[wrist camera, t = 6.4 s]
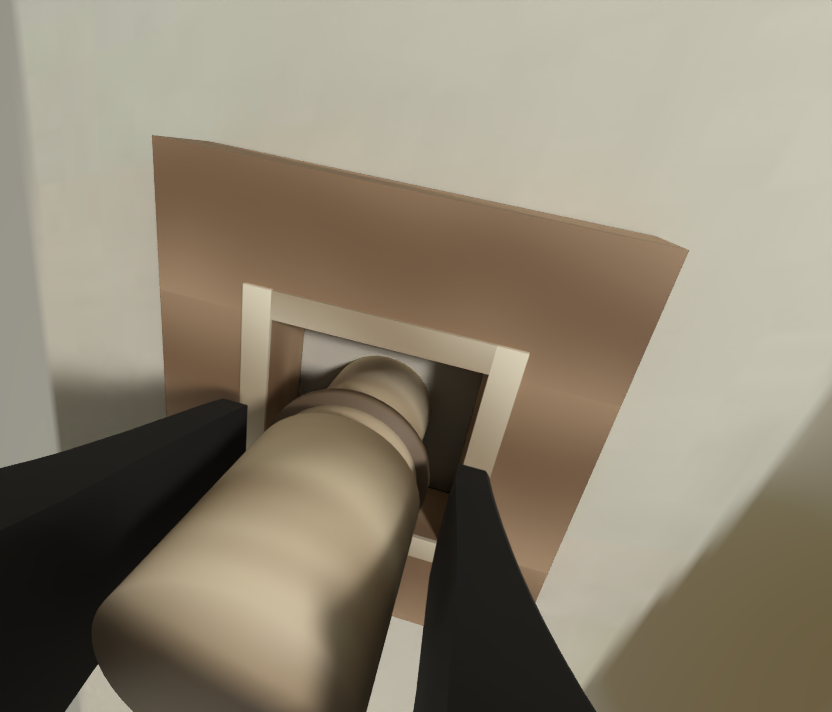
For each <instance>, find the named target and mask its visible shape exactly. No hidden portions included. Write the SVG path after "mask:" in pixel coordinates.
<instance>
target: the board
mask: <svg viewBox="0 0 832 712" xmlns="http://www.w3.org/2000/svg"><path fill="white" fill-rule="evenodd" d="M152 145H153V164H154V183H155V202H156V221H157V240H158V259H159V279H160V298H161V317H162V336H163V355H164V374H165V393H166V413H167V417H169V416H171V415H174V414H177V413H180V412H183V411H185V410H188V409H191V408H194V407H197V406H200V405H203V404H206V403H209V402H212V401H215V400H219V399H222V398H224V399H228V400H231V401H235V402H239V403H242V404H246V405H248V410H247V438H246V451H247V450H248V449H249V448H250V447H251V445H252V444H253V443H254V442H255V441H256V440H257V439H258V438H259V437H260V436H261V435H262V434H263V433H264V432H265V431H266V430H267V429H268V428H269V426H270V425H271V423H272V421H273V420H274V419H275V417H276V416H277V415H278V414H279V413H280V412H281V411H282V410H283V409H284V407H286V406H287V405H288V404H289V403H290V402H291V401H293V400H294V399H296V398H298V394H299V383H300V371H301V360H302V349H303V338H304V328H306V329H310V330H314V331H318V332H322V333H326V334H330V335H334V336H338V337H341V338H345V339H349V340H353V341H357V342H361V343H365V344H369V345H373V346H377V347H381V348H385V349H389V350H393V351H397V352H401V353H405V354H409V355H412V356H416V357H420V358H424V359H428V360H432V361H436V362H440V363H444V364H448V365H452V366H456V367H460V368H464V369H468V370H472V371H476V372H479V373H483V377H482V381H481V384H480V388H479V392H478V395H477V399H476V402H475V406H474V409H473V413H472V417H471V420H470V424H469V427H468V431H467V435H466V438H465V442H464V445H463V449H462V452H461V456H460V460H459V463H460V464H463V465H467V466H470V467H474V468H478V469H481V470H485V471H486V472H487V474H488V475H489V478H490V483H491V487H492V491H493V495H494V498H495V502H496V505H497V508H498V511H499V515H500V518H501V521H502V524H503V527H504V529H505V532H506V535H507V537H508V540H509V543H510V545H511V548H512V551H513V553H514V556H515V558H516V561H517V563H518V566H519V568H520V570H521V573H522V575H523V577H524V579H525V582H526V584H527V586H528V588H529V591H530V593H531V595H532V597H533V599H534V601H535V602H536V599H537V597H538V595H539V592H540V590H541V588H542V586H543V583H544V581H545V579H546V576H547V574H548V572H549V570H550V567H551V565H552V563H553V560H554V558H555V556H556V554H557V551H558V549H559V547H560V544H561V542H562V540H563V538H564V535H565V533H566V531H567V528H568V526H569V524H570V522H571V519H572V517H573V515H574V512H575V510H576V508H577V506H578V503H579V501H580V499H581V496H582V494H583V492H584V490H585V487H586V485H587V483H588V480H589V478H590V476H591V474H592V471H593V469H594V467H595V464H596V462H597V460H598V458H599V455H600V453H601V451H602V448H603V446H604V444H605V442H606V439H607V437H608V435H609V432H610V430H611V428H612V426H613V423H614V421H615V419H616V416H617V414H618V412H619V410H620V407H621V405H622V403H623V400H624V398H625V396H626V394H627V391H628V389H629V387H630V384H631V382H632V380H633V378H634V375H635V373H636V371H637V368H638V366H639V364H640V362H641V359H642V357H643V355H644V352H645V350H646V348H647V346H648V343H649V341H650V339H651V336H652V334H653V332H654V330H655V327H656V325H657V323H658V320H659V318H660V316H661V314H662V311H663V309H664V307H665V304H666V302H667V300H668V298H669V295H670V293H671V291H672V288H673V286H674V284H675V282H676V279H677V277H678V275H679V272H680V270H681V268H682V266H683V263H684V261H685V259H686V256H687V254H688V252H689V250H687V249H685V248H682V247H680V246H678V245H675V244H673V243H670V242H668V241H666V240H663V239H661V238H659V237H656V236H651V235H647V234H642V233H637V232H633V231H628V230H623V229H619V228H614V227H609V226H604V225H600V224H595V223H590V222H586V221H581V220H576V219H572V218H567V217H562V216H557V215H553V214H548V213H543V212H539V211H534V210H529V209H525V208H520V207H515V206H510V205H506V204H501V203H496V202H492V201H487V200H482V199H478V198H473V197H468V196H464V195H459V194H454V193H449V192H445V191H440V190H435V189H431V188H426V187H421V186H417V185H412V184H407V183H402V182H398V181H393V180H388V179H384V178H379V177H374V176H370V175H365V174H360V173H355V172H351V171H346V170H341V169H337V168H332V167H327V166H323V165H318V164H313V163H308V162H304V161H299V160H294V159H290V158H285V157H280V156H276V155H271V154H266V153H262V152H257V151H252V150H247V149H243V148H238V147H233V146H229V145H224V144H219V143H215V142H210V141H200V140H191V139H182V138H173V137H164V136H154V135H152ZM448 497H449V493H445V492H442V491H438V490H435V489H431V488H428V489H427V493H426V497H425V500H424V502H423V505H422V507H421V509H420V510H419V514H418V518H417V522H416V526H415V530H414V534H413V537H412V541H411V545H410V549H409V552H408V556H407V560H406V564H405V567H404V571H403V575H402V579H401V583H400V586H399V590H398V594H397V598H396V601H395V605H394V609H393V613H392V616H394V617H397V618H400V619H403V620H406V621H410V622H413V623H416V624H419V625H422V626H424V618H425V609H426V600H427V592H428V583H429V576H430V571H431V566H432V561H433V557H434V552H435V547H436V543H437V538H438V533H439V530H440V526H441V523H442V519H443V515H444V512H445V508H446V505H447V501H448Z"/></svg>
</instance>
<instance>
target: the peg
mask: <svg viewBox="0 0 832 712" xmlns="http://www.w3.org/2000/svg"><path fill="white" fill-rule="evenodd" d="M430 415H431V399H430V395H429V392H428V390H427V387H426V386H425V384H424V382H423V381H422V379H421V378H420V377H419V376H418V375H417V373H416V372H414V371H413V370H412V369H411V368H410V367H408V366H407V365H405V364H403V363H401V362H399V361H397V360H394V359H392V358H388V357H382V356H369V357H364V358H360V359H358V360H355V361H353V362H352V363H350V364H348V365H347V366H346V367H345V368H344V369H343V370H342V371H341V372H340V373H339V375H338V376H337V377H336V378H335V379H334V380H333V382H332V383H331V384H330V385H329V386H328V387H327V389H320V390H316V391H312V392H308V393H306V394H304V395H301V396H299V397H298V398H296V399H294V400H293V401H291V402H290V403H289V404H288V405H287V406H286V407H284V409H283V410H282V411H281V412H280V413H279V414H278V415H277V416H276V417H275V419H274V420H273V421H272V423H271V425H270V426H269V428H268V429H267V430H266V431H265V432H264V433H263V434H262V435H261V436H260V437H259V438H258V439H257V440H256V441H255V442H254V443H253V444H252V445H251V447H250V448H249V449H248V450H247V451H246V452H245V453H244V454H243V455H242V456H241V457H240V458H239V459H238V460H237V461H236V462H235V463H234V464H233V466H232V467H231V468H230V469H229V470H228V471H227V472H226V473H225V474H224V475H223V476H222V477H221V478H220V479H219V480H218V481H217V482H216V483H215V485H214V486H213V487H212V488H211V489H210V490H209V491H208V492H207V493H206V494H205V495H204V496H203V497H202V498H201V499H200V500H199V501H198V502H197V503H196V505H195V506H194V507H193V508H192V509H191V510H190V511H189V512H188V513H187V514H186V515H185V516H184V517H183V518H182V519H181V520H180V521H179V522H178V524H177V525H176V526H175V527H174V528H173V529H172V530H171V531H170V532H169V533H168V534H167V535H166V536H165V537H164V538H163V539H162V540H161V541H160V542H159V544H158V545H157V546H156V547H155V548H154V549H153V550H152V551H151V552H150V553H149V554H148V555H147V556H146V557H145V558H144V559H143V560H142V561H141V563H140V564H139V565H138V566H137V567H136V568H135V569H134V570H133V571H132V572H131V573H130V574H129V575H128V576H127V577H126V578H125V579H124V580H123V581H122V583H121V584H120V585H119V586H118V587H117V588H116V589H115V590H114V591H113V592H112V593H111V594H110V595H109V596H108V597H107V598H106V599H105V600H104V602H103V603H102V604H101V606H100V607H99V608H98V610H97V612H96V614H95V617H94V619H93V624H92V629H91V630H92V644H93V650H94V653H95V656H96V659H97V662H98V664H99V666H100V668H101V670H102V672H103V674H104V676H105V678H106V679H107V681H108V682H109V684H110V685H111V687H112V688H113V689H114V691H115V692H116V693H117V694H118V696H119V697H120V698H121V699H122V700H123V701H124V702H125V703H126V704H127V706H128V707H129V708H130V709H131V710H132V711H133V712H366V711H367V707H368V703H369V699H370V696H371V692H372V688H373V684H374V681H375V677H376V673H377V669H378V666H379V662H380V658H381V654H382V650H383V647H384V643H385V639H386V635H387V632H388V628H389V624H390V620H391V616H392V613H393V609H394V605H395V601H396V598H397V594H398V590H399V586H400V583H401V579H402V575H403V571H404V567H405V564H406V560H407V556H408V552H409V549H410V545H411V541H412V537H413V534H414V530H415V526H416V522H417V518H418V514H419V510H420V509H421V507H422V505H423V502H424V500H425V497H426V493H427V489H428V485H429V479H430V466H429V460H428V456H427V452H426V449H425V447H424V444H423V442H422V441H423V438H424V435H425V432H426V429H427V426H428V422H429V419H430Z"/></svg>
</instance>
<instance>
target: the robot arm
mask: <svg viewBox="0 0 832 712" xmlns="http://www.w3.org/2000/svg"><path fill="white" fill-rule="evenodd" d="M247 410H248V405H246V404H242V403H239V402H235V401H231V400H228V399H224V398H222V399H219V400H215V401H212V402H209V403H206V404H203V405H200V406H197V407H194V408H191V409H188V410H185V411H183V412H180V413H177V414H174V415H171V416H169V417H166V418H163V419H160V420H157V421H155V422H152V423H149V424H146V425H143V426H140V427H138V428H135V429H132V430H129V431H126V432H123V433H120V434H117V435H114V436H111V437H108V438H104V439H101V440H98V441H95V442H92V443H89V444H86V445H82V446H79V447H76V448H73V449H70V450H67V451H63V452H60V453H56V454H53V455H49V456H46V457H42V458H39V459H35V460H31V461H27V462H23V463H19V464H15V465H11V466H7V467H3V468H0V712H65V711H66V709H67V708H68V706H69V705H70V704H71V702H72V700H73V699H74V698H75V696H76V695H77V693H78V692H79V690H80V689H81V688H82V686H83V685H84V683H85V682H86V680H87V679H88V677H89V676H90V675H91V673H92V672H93V670H94V669H95V668H96V666H97V665H98V662H97V659H96V656H95V653H94V650H93V644H92V630H91V629H92V624H93V619H94V617H95V614H96V612H97V610H98V608H99V607H100V606H101V604H102V603H103V602H104V600H105V599H106V598H107V597H108V596H109V595H110V594H111V593H112V592H113V591H114V590H115V589H116V588H117V587H118V586H119V585H120V584H121V583H122V581H123V580H124V579H125V578H126V577H127V576H128V575H129V574H130V573H131V572H132V571H133V570H134V569H135V568H136V567H137V566H138V565H139V564H140V563H141V561H142V560H143V559H144V558H145V557H146V556H147V555H148V554H149V553H150V552H151V551H152V550H153V549H154V548H155V547H156V546H157V545H158V544H159V542H160V541H161V540H162V539H163V538H164V537H165V536H166V535H167V534H168V533H169V532H170V531H171V530H172V529H173V528H174V527H175V526H176V525H177V524H178V522H179V521H180V520H181V519H182V518H183V517H184V516H185V515H186V514H187V513H188V512H189V511H190V510H191V509H192V508H193V507H194V506H195V505H196V503H197V502H198V501H199V500H200V499H201V498H202V497H203V496H204V495H205V494H206V493H207V492H208V491H209V490H210V489H211V488H212V487H213V486H214V485H215V483H216V482H217V481H218V480H219V479H220V478H221V477H222V476H223V475H224V474H225V473H226V472H227V471H228V470H229V469H230V468H231V467H232V466H233V464H234V463H235V462H236V461H237V460H238V459H239V458H240V457H241V456H242V455H243V454H244V453H245V452H246V438H247ZM413 712H596V710H595V709H594V707H593V706H592V704H591V703H590V701H589V699H588V698H587V696H586V695H585V693H584V692H583V690H582V688H581V687H580V685H579V683H578V681H577V680H576V678H575V676H574V674H573V673H572V671H571V669H570V668H569V666H568V664H567V662H566V661H565V659H564V657H563V655H562V654H561V652H560V650H559V648H558V646H557V644H556V643H555V641H554V639H553V637H552V635H551V633H550V631H549V629H548V628H547V626H546V624H545V622H544V620H543V618H542V616H541V614H540V612H539V610H538V608H537V606H536V603H535V601H534V599H533V597H532V595H531V593H530V591H529V588H528V586H527V584H526V582H525V579H524V577H523V575H522V573H521V570H520V568H519V566H518V563H517V561H516V558H515V556H514V553H513V551H512V548H511V545H510V543H509V540H508V537H507V535H506V532H505V529H504V527H503V524H502V521H501V518H500V515H499V511H498V508H497V505H496V502H495V498H494V495H493V491H492V487H491V483H490V478H489V475H488V474H487V472H486V471H485V470H481V469H478V468H474V467H470V466H467V465H463V464H460V463H458V465H457V469H456V472H455V476H454V480H453V483H452V487H451V490H450V494H449V497H448V501H447V505H446V508H445V512H444V515H443V519H442V523H441V526H440V530H439V533H438V538H437V543H436V547H435V552H434V557H433V561H432V566H431V571H430V576H429V583H428V592H427V600H426V609H425V618H424V627H423V636H422V645H421V654H420V663H419V672H418V681H417V690H416V697H415V704H414V711H413Z"/></svg>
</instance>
